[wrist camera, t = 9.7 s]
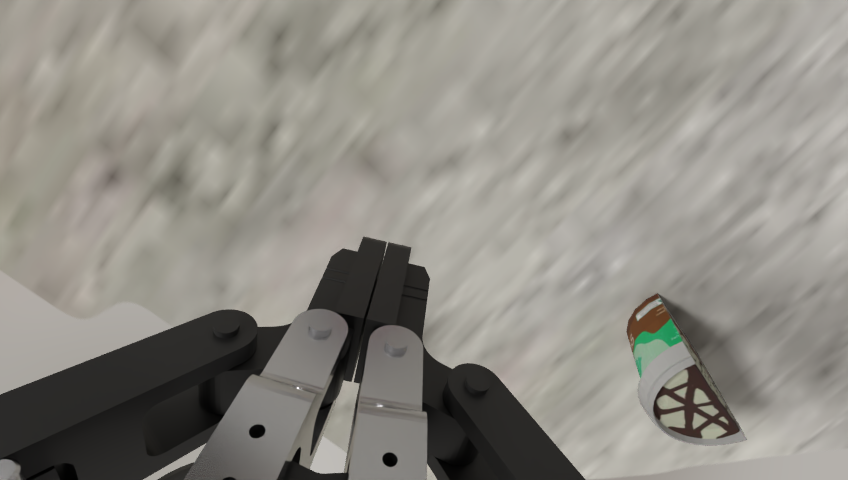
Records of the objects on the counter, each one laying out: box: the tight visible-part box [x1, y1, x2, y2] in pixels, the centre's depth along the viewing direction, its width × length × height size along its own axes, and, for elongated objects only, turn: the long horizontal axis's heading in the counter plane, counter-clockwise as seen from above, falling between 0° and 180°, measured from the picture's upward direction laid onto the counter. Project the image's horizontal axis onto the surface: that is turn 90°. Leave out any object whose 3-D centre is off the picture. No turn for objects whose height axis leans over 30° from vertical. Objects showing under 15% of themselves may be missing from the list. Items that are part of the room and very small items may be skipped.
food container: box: [627, 293, 747, 446], centre depth 45 cm, size 12×6×10 cm, turn 38°
